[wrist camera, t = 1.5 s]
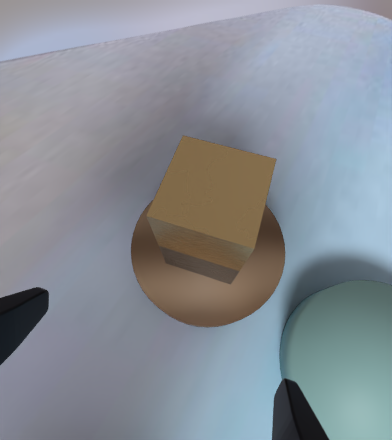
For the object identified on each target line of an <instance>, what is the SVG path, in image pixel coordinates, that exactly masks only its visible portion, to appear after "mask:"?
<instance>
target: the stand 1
mask: <svg viewBox="0 0 392 440" xmlns="http://www.w3.org/2000/svg"><path fill="white" fill-rule="evenodd" d="M152 202H153V201H151V203H150V204H149V205H148V206H147V207H146V208H145V210H144V211H143V213H142V214H141V216H140V218H139V220H138V222H137V224H136V227H135V230H134V233H133V237H132V243H131V258H132V265H133V269H134V273H135V275H136V278H137V281H138V283H139V284H140V286H141V288H142V290H143V291H144V293H145V294H146V295H147V297H148V298H149V299H150V300H151V301H152V302H153V303H154V304H155V305H156V306H157V307H158V308H160V309H161V310H162V311H164V312H165V313H166V314H168V315H169V316H170V317H172V318H174V319H176V320H178V321H180V322H183V323H185V324H188V325H193V326H197V327H218V326H223V325H227V324H230V323H233V322H236V321H238V320H241V319H243V318H245V317H247V316H249V315H251V314H252V313H253V312H255V311H256V310H258V309H259V308H260V307H261V306H262V305H263V304H264V303H265V302H266V301H267V300H268V299H269V298H270V296H271V295H272V294H273V292H274V291H275V289H276V287H277V285H278V283H279V281H280V278H281V276H282V273H283V268H284V263H285V244H284V239H283V235H282V232H281V229H280V226H279V224H278V222H277V220H276V218H275V216H274V215H273V213H272V212H271V211H270V209H269V208H268V207H267V206H266V205H265V207H264V211H263V216H262V220H261V224H260V228H259V232H258V236H257V240H256V244H255V248H254V250H253V252H252V253H251V255H250V256H249V258H248V259H247V261H246V262H245V264H244V265H243V267H242V268H241V270H240V271H239V273H238V274H237V276H236V277H235V279H234V281H233V282H232V284H227V283H224V282H221V281H218V280H215V279H212V278H209V277H206V276H203V275H200V274H197V273H194V272H191V271H188V270H185V269H182V268H179V267H176V266H173V265H170V264H166V262H165V260H164V257H163V255H162V253H161V250H160V248H159V245H158V243H157V241H156V238H155V236H154V233H153V231H152V228H151V226H150V224H149V221H148V219H147V213H148V211H149V209H150V207H151V205H152Z"/></svg>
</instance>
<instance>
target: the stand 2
mask: <svg viewBox="0 0 392 440" xmlns="http://www.w3.org/2000/svg"><path fill="white" fill-rule="evenodd" d="M280 370H281V376H282V380H283V379H284V378H287V379H290V380H292V381H295V382H296V383H297V384H298V385H299V387H300V389H301V390H302V392H303V394H304V396H305V397H306V399H307V401H308V403H309V404H310V406H311V408H312V410H313V411H314V413H315V415H316V417H317V418H318V420H319V422H320V424H321V425H322V427H323V429H324V431H325V432H326V434H327V436H328V438H329V439H330V440H392V285H389V284H386V283H381V282H376V281H367V280H356V281H348V282H343V283H340V284H337V285H334V286H332V287H329V288H326V289H324V290H321V291H318V292H316V293H314V294H312V295H310V296H309V297H307V298H306V299H305V300H303V301H302V302H301V303H300V304H299V305H298V306H297V307H296V308H295V310H294V311H293V312H292V314H291V315H290V317H289V319H288V321H287V323H286V325H285V328H284V331H283V334H282V339H281V344H280Z"/></svg>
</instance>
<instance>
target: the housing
mask: <svg viewBox="0 0 392 440" xmlns="http://www.w3.org/2000/svg"><path fill="white" fill-rule="evenodd" d="M275 162H276V159H274V158H270V157H266V156H262V155H258V154H254V153H250V152H246V151H242V150H238V149H234V148H231V147H227V146H223V145H219V144H215V143H211V142H207V141H203V140H199V139H195V138H191V137H187V136H183V137H182V139H181V141H180V143H179V145H178V148H177V150H176V152H175V154H174V156H173V159H172V161H171V163H170V165H169V167H168V169H167V172H166V174H165V176H164V178H163V180H162V183H161V185H160V187H159V189H158V191H157V194H156V196H155V198H154V200H153V202H152V205H151V207H150V209H149V211H148V213H147V219H148V221H149V224H150V226H151V228H152V231H153V233H154V236H155V238H156V241H157V243H158V245H159V248H160V250H161V253H162V255H163V257H164V260H165V262H166V264H170V265H173V266H176V267H179V268H182V269H185V270H188V271H191V272H194V273H197V274H200V275H203V276H206V277H209V278H212V279H215V280H218V281H221V282H224V283H227V284H232V282H233V281H234V279H235V277H236V276H237V274H238V273H239V271H240V270H241V268H242V267H243V265H244V264H245V262H246V261H247V259H248V258H249V256H250V255H251V253H252V252H253V250H254V248H255V244H256V240H257V236H258V232H259V228H260V224H261V220H262V216H263V211H264V207H265V203H266V199H267V195H268V191H269V187H270V183H271V179H272V175H273V170H274V166H275Z"/></svg>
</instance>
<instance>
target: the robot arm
mask: <svg viewBox="0 0 392 440" xmlns="http://www.w3.org/2000/svg"><path fill="white" fill-rule="evenodd" d="M48 306H49V293H48V291H47V290H45V289H43V288H40V287H36V288H32V289H29V290H25V291H22V292H19V293H15V294H12V295H9V296H5V297H2V298H0V365H1V364H2V363H3V362H4V361H5V360H6V359H7V358H8V357H9V356H10V355H11V354H12V353H13V352H14V351H15V350H16V348H17V347H18V346H19V345H20V344H21V343H22V342H23V340H24V339H25V338H26V337H27V335H28V334H29V333H30V332H31V331H32V329H33V328H34V327H35V326H36V325H37V323H38V322H39V321H40V320H41V319H42V317H43V316H44V315H45V314H46V312H47V310H48ZM272 440H330V439H329V438H328V436H327V434H326V432H325V431H324V429H323V427H322V425H321V424H320V422H319V420H318V418H317V417H316V415H315V413H314V411H313V410H312V408H311V406H310V404H309V403H308V401H307V399H306V397H305V396H304V394H303V392H302V390H301V389H300V387H299V385H298V384H297V383H296V382H295V381H292V380H290V379H287V378H284V379H283V380H282V381H281V383H280V385H279V387H278V389H277V391H276V393H275V397H274V408H273V429H272Z"/></svg>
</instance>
